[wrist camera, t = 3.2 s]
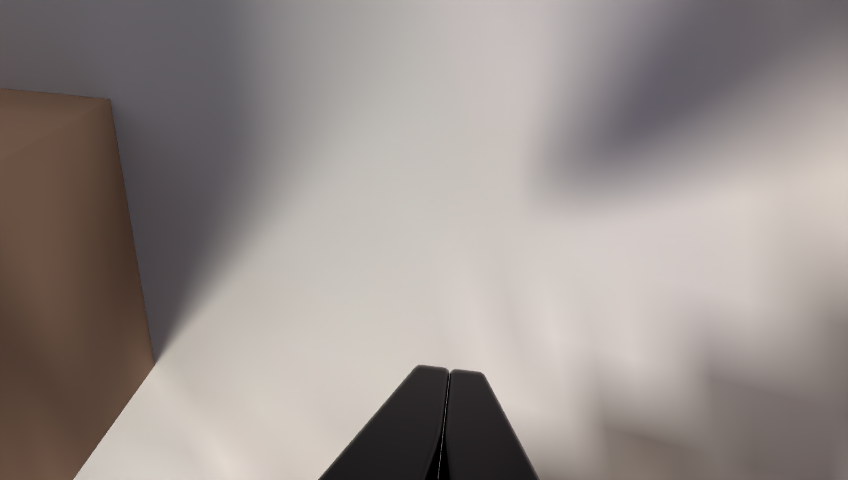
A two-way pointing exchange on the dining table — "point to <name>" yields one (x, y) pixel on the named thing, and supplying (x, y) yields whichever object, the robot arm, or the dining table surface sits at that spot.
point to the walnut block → (64, 285)
